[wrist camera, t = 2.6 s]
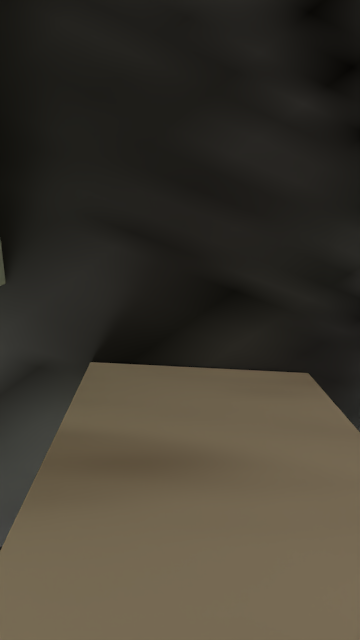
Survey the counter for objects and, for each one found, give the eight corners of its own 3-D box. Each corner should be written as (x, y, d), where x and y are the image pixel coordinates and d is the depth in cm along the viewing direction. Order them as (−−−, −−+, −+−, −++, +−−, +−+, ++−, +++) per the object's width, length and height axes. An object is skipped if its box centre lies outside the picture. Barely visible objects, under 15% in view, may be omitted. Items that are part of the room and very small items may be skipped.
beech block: (269, 524, 11) (387, 882, 5) (93, 522, 10) (5, 912, 5) (308, 373, 9) (582, 688, 3) (90, 362, 8) (-76, 708, 3)
